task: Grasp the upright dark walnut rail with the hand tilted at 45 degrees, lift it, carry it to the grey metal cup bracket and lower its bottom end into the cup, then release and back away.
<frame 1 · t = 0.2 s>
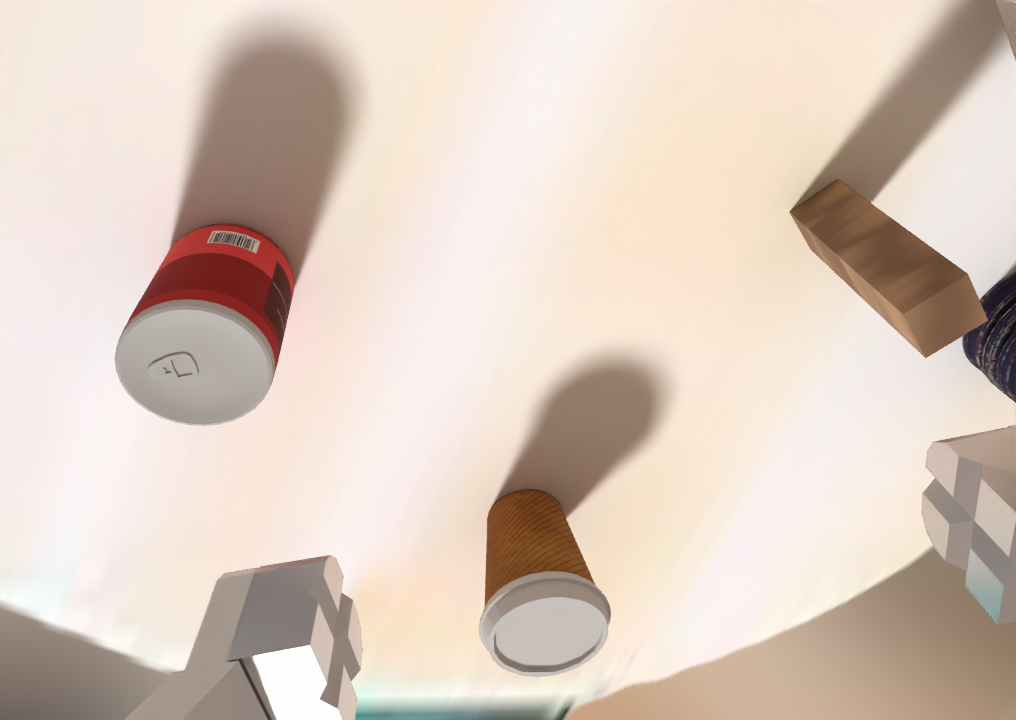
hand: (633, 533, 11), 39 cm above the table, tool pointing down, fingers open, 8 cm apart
disposable coffee cup: (524, 515, 65), on the table
canned food: (232, 273, 50), on the table
rail: (824, 215, 53), on the table
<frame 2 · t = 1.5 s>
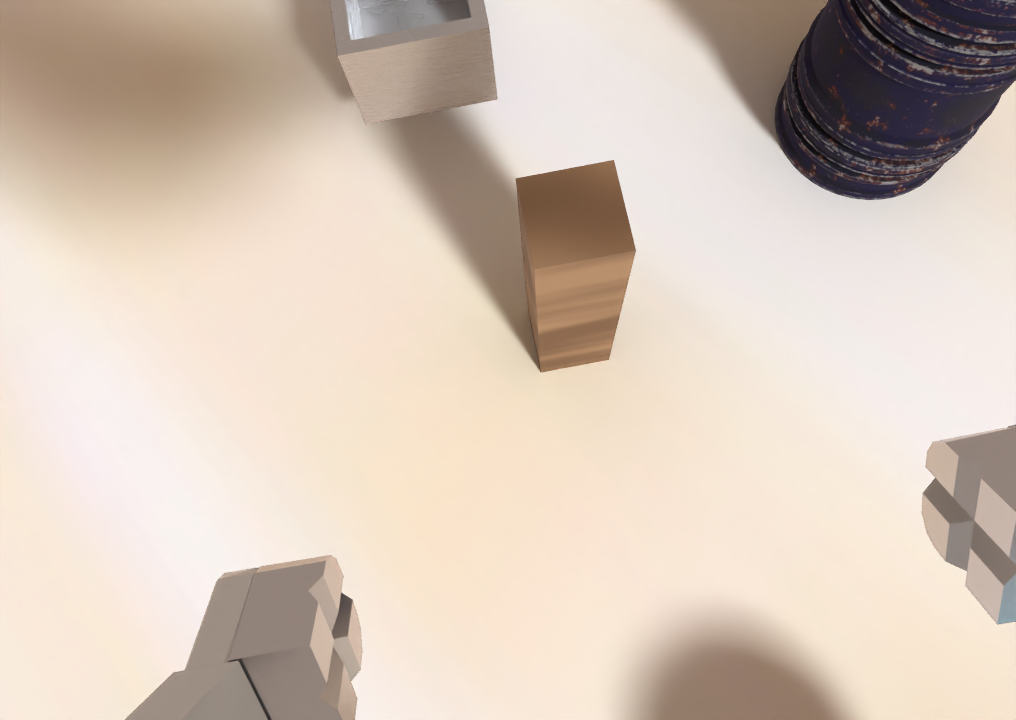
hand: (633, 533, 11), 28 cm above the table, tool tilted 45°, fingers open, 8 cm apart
rusty blue barrel: (861, 123, 44), on the table
rail: (567, 333, 41), on the table
bracket: (433, 100, 45), on the table
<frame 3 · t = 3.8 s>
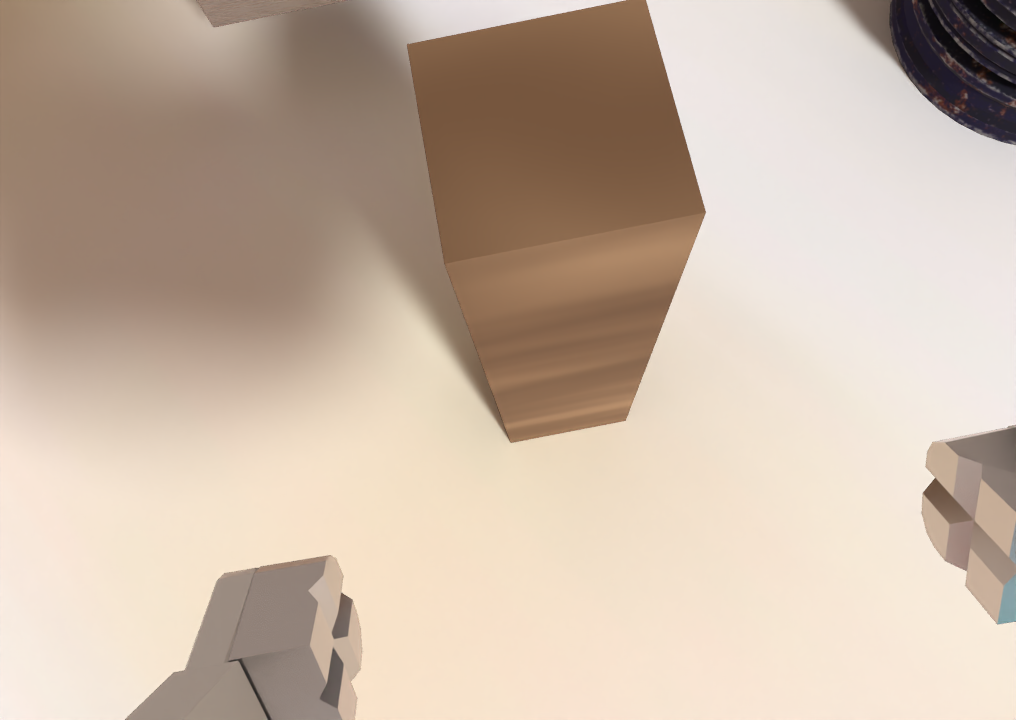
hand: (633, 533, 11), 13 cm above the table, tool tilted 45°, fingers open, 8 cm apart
rail: (556, 376, 24), on the table
bracket: (345, 5, 29), on the table
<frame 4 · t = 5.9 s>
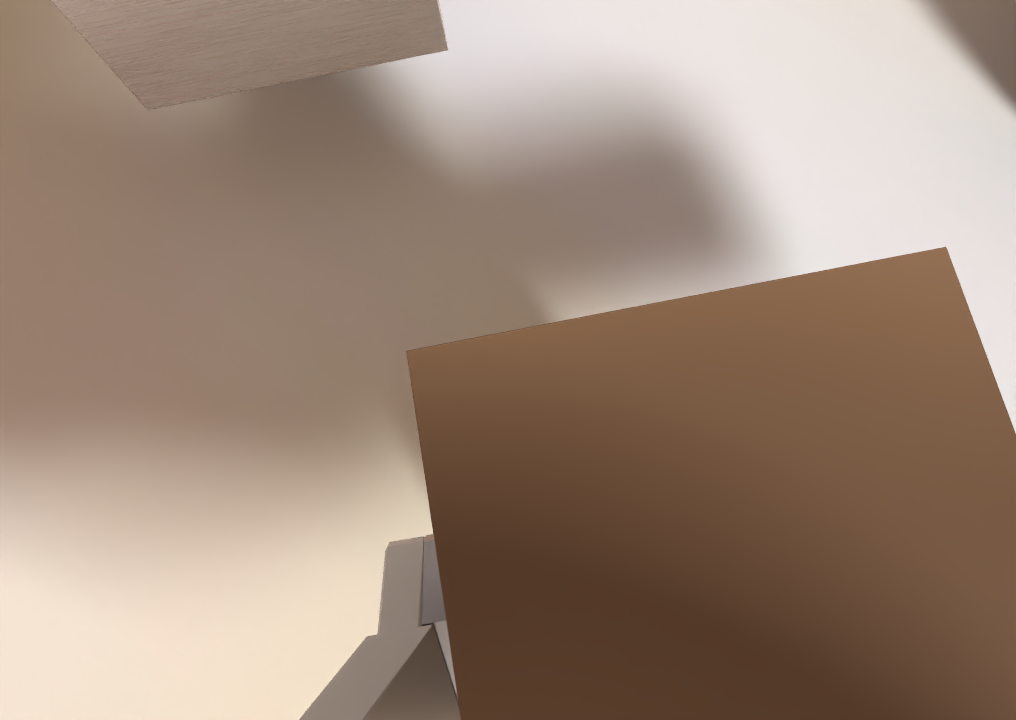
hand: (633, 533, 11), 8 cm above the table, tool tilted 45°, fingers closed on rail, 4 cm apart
rail: (611, 581, 18), on the table, touching gripper
bracket: (331, 64, 23), on the table
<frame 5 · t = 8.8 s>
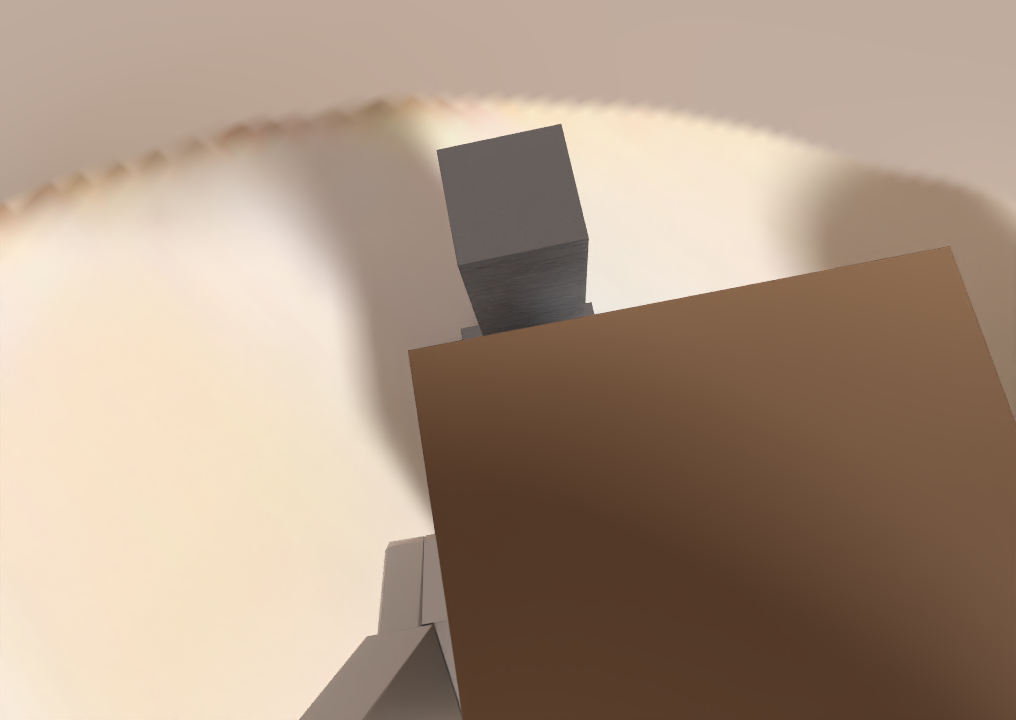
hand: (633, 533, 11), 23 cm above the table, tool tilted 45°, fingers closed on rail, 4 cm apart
rail: (611, 581, 18), point 15 cm above the table, touching gripper
bracket: (572, 540, 33), on the table
when the fingers open (14 cm above the table, at t = 11.4 s): rail drops 1 cm, resting on bracket.
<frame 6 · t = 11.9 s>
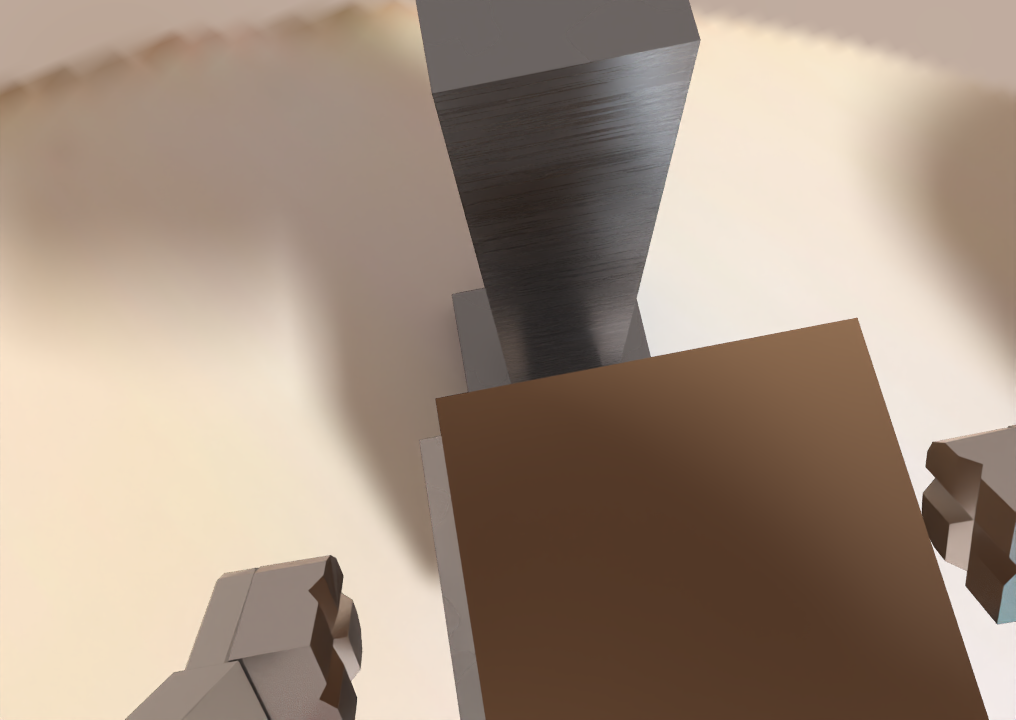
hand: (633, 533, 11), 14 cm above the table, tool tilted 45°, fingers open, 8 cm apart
rail: (606, 581, 19), point 5 cm above the table, touching bracket
bracket: (600, 581, 24), on the table
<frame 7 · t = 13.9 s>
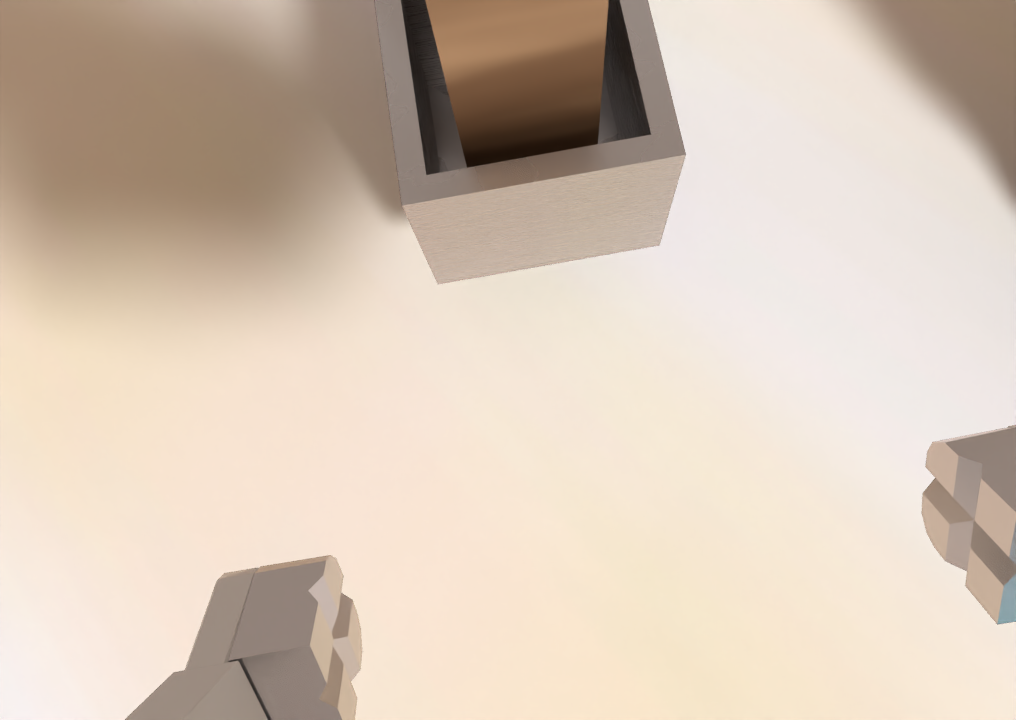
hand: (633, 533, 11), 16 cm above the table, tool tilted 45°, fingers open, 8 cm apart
rail: (526, 149, 24), point 5 cm above the table, touching bracket
bracket: (534, 218, 29), on the table
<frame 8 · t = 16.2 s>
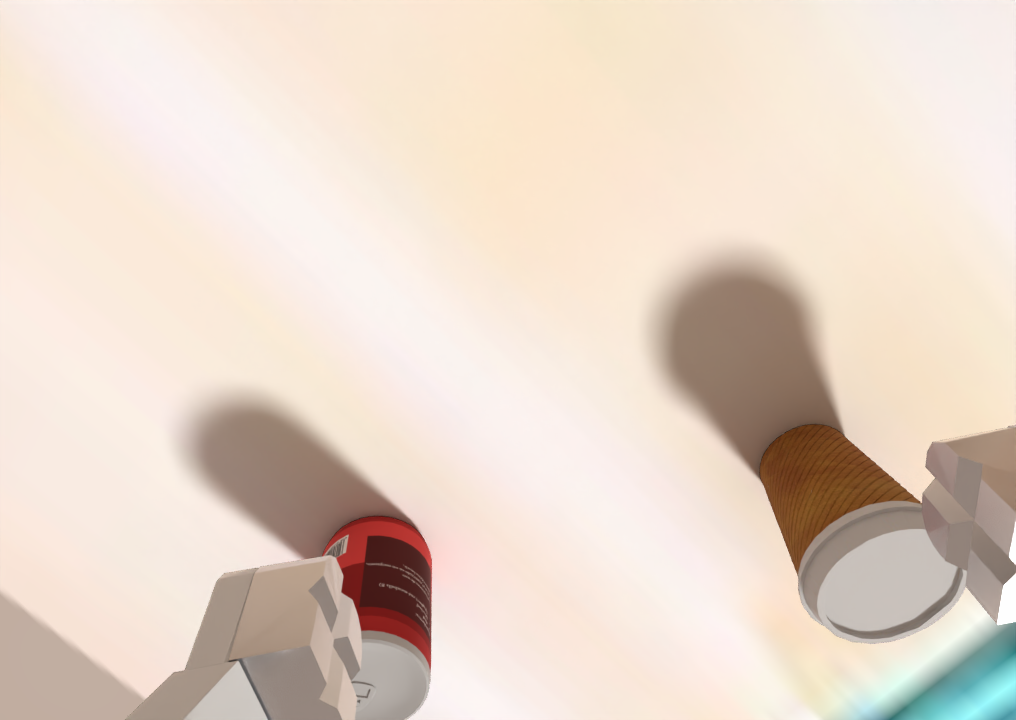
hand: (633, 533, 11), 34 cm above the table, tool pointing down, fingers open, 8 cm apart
disposable coffee cup: (803, 460, 54), on the table
canned food: (377, 554, 55), on the table
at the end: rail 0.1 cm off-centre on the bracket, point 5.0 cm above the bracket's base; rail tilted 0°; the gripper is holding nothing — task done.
